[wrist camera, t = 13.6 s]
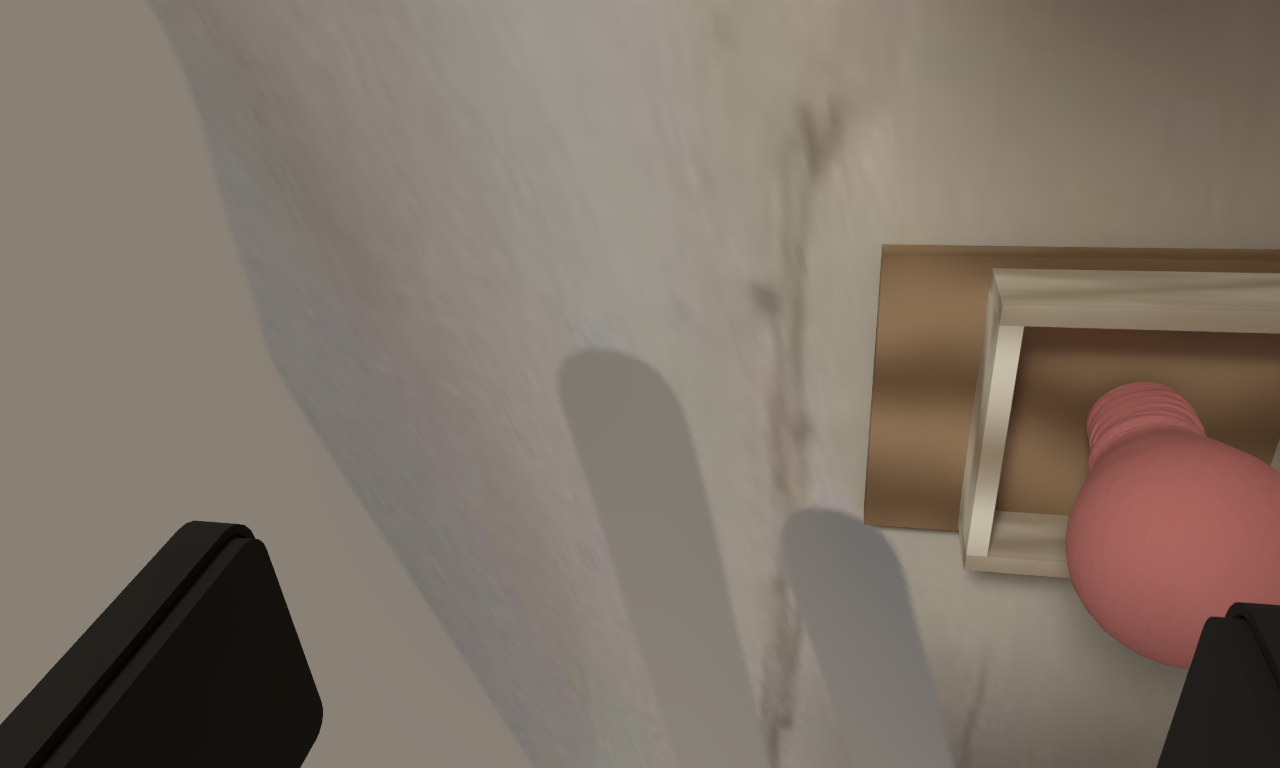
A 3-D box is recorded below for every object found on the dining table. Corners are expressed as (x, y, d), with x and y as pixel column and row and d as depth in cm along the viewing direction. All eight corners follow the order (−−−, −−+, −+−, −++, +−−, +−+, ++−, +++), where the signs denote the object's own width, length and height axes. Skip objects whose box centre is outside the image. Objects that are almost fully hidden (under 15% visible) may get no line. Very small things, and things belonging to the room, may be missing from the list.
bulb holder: (882, 244, 37) (884, 290, 33) (1483, 252, 33) (1554, 305, 29) (863, 510, 43) (864, 570, 40) (1360, 543, 39) (1406, 613, 36)
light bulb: (999, 372, 37) (1051, 586, 27) (1193, 297, 34) (1332, 505, 24) (1067, 503, 40) (1137, 742, 30) (1253, 443, 37) (1402, 687, 27)
